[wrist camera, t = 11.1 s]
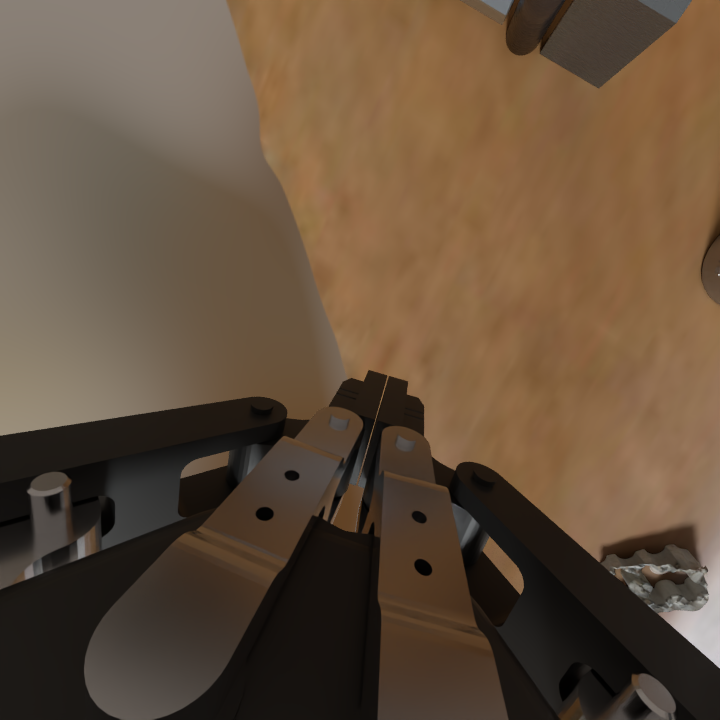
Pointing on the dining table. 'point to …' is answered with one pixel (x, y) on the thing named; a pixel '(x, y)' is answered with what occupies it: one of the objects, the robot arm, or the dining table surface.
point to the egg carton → (665, 591)
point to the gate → (492, 8)
